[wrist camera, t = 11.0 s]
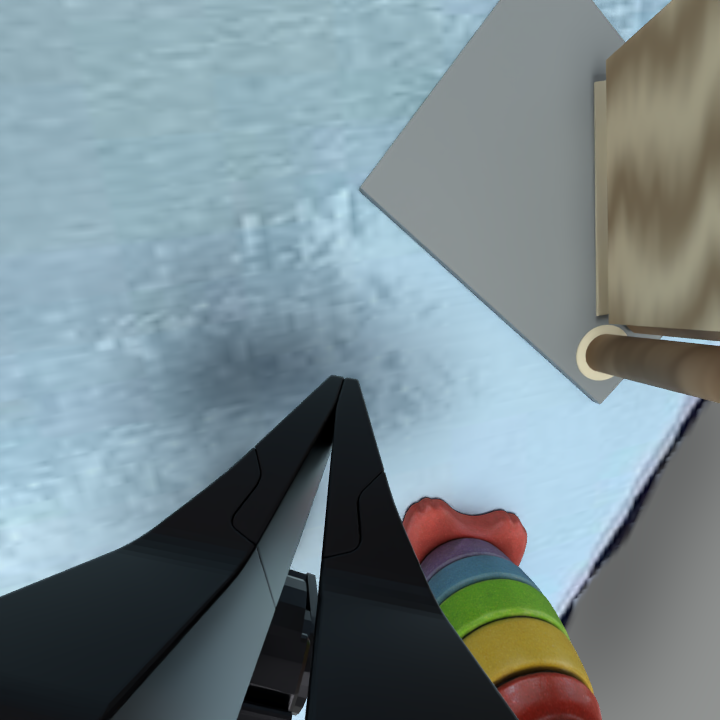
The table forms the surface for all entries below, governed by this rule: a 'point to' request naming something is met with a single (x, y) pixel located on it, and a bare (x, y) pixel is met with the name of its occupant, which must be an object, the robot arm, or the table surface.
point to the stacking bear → (500, 610)
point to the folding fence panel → (665, 171)
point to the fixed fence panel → (661, 360)
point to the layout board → (518, 177)
